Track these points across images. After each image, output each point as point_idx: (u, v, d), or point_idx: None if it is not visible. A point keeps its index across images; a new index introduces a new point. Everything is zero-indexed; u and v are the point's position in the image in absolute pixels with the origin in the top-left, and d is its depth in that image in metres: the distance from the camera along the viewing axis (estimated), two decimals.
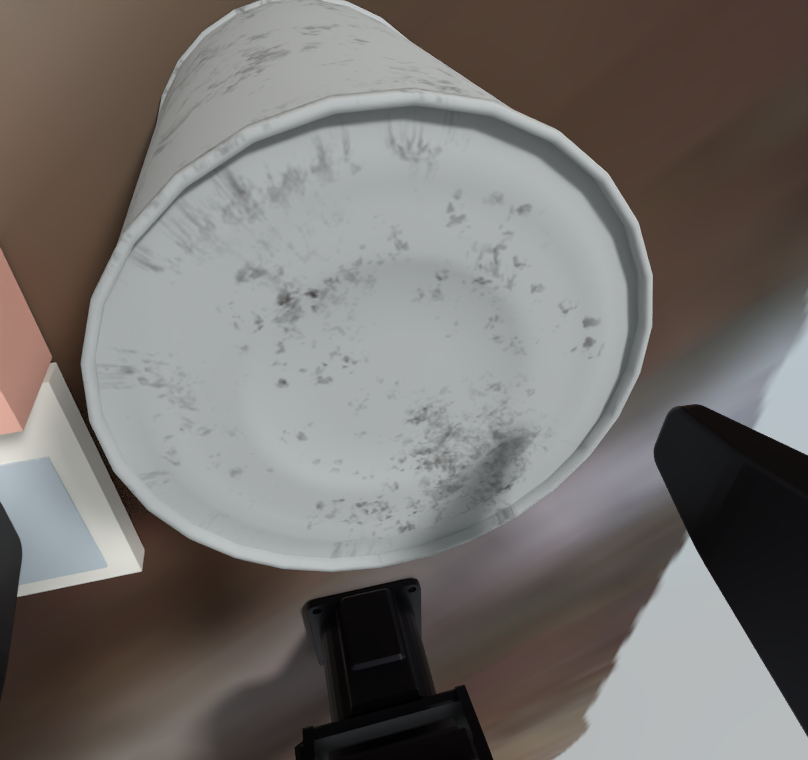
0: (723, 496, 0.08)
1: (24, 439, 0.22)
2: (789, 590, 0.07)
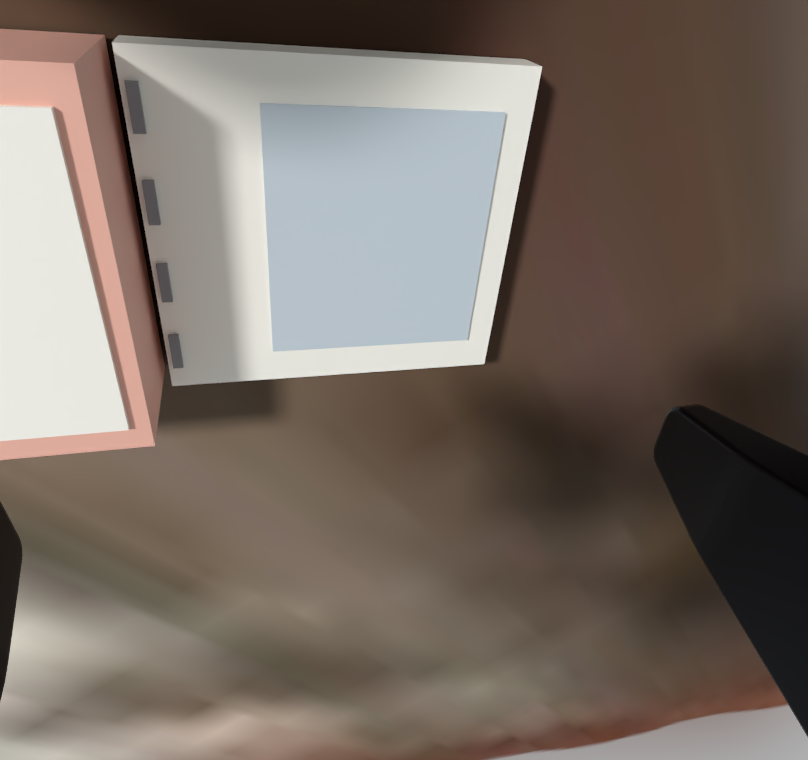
0: (723, 496, 0.08)
1: (221, 120, 0.16)
2: (789, 590, 0.07)
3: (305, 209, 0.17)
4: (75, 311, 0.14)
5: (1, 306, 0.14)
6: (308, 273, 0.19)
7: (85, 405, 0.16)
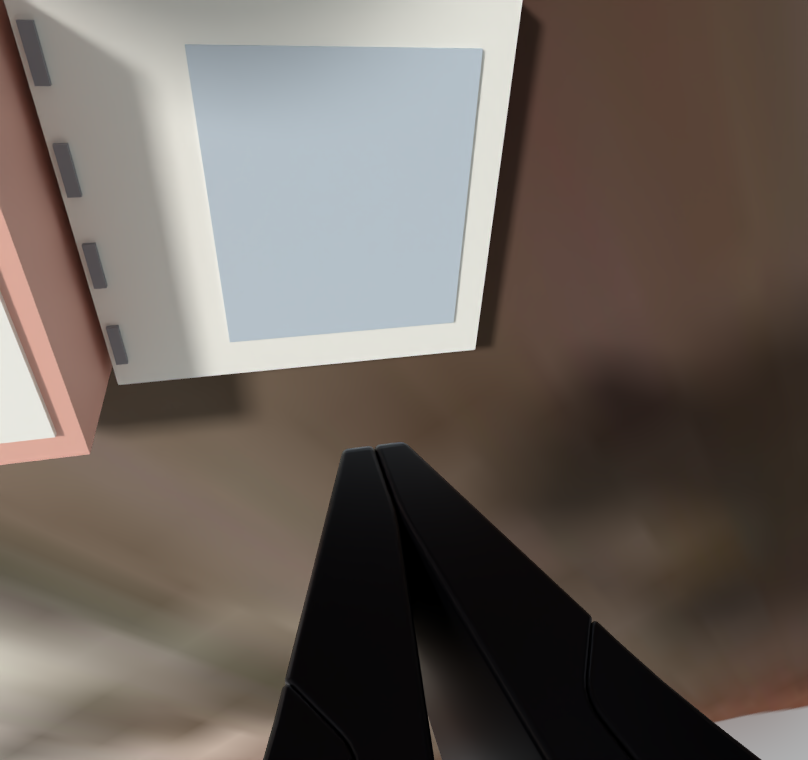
0: None
1: (140, 67, 0.13)
2: (435, 664, 0.06)
3: (252, 173, 0.15)
4: None
5: None
6: (262, 249, 0.16)
7: None
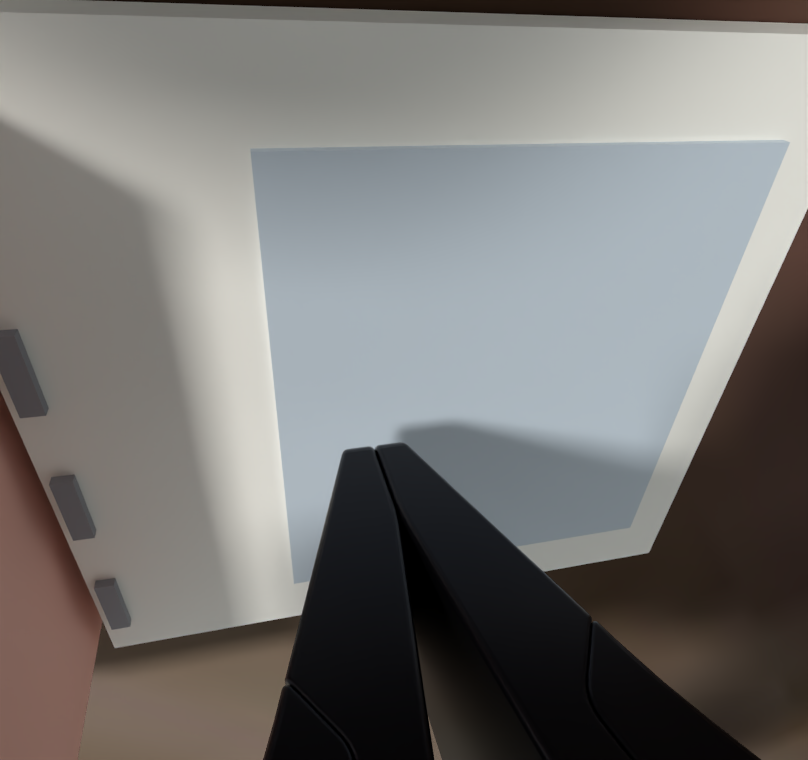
0: None
1: (160, 193, 0.07)
2: (436, 665, 0.06)
3: (355, 359, 0.08)
4: None
5: None
6: None
7: None
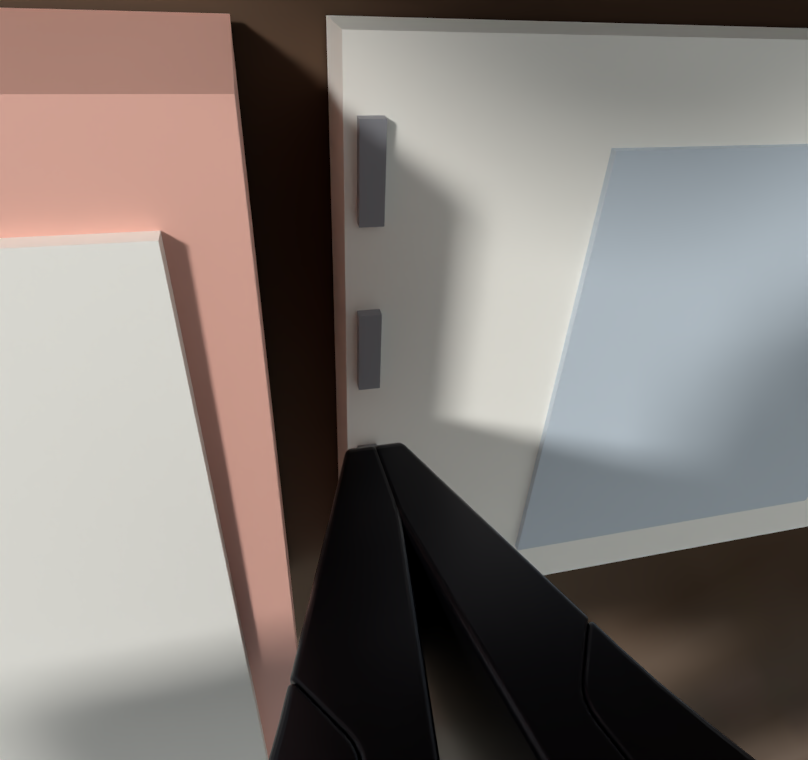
0: None
1: (530, 188, 0.07)
2: (432, 665, 0.06)
3: (636, 337, 0.09)
4: (189, 654, 0.06)
5: (21, 673, 0.06)
6: (608, 435, 0.10)
7: None
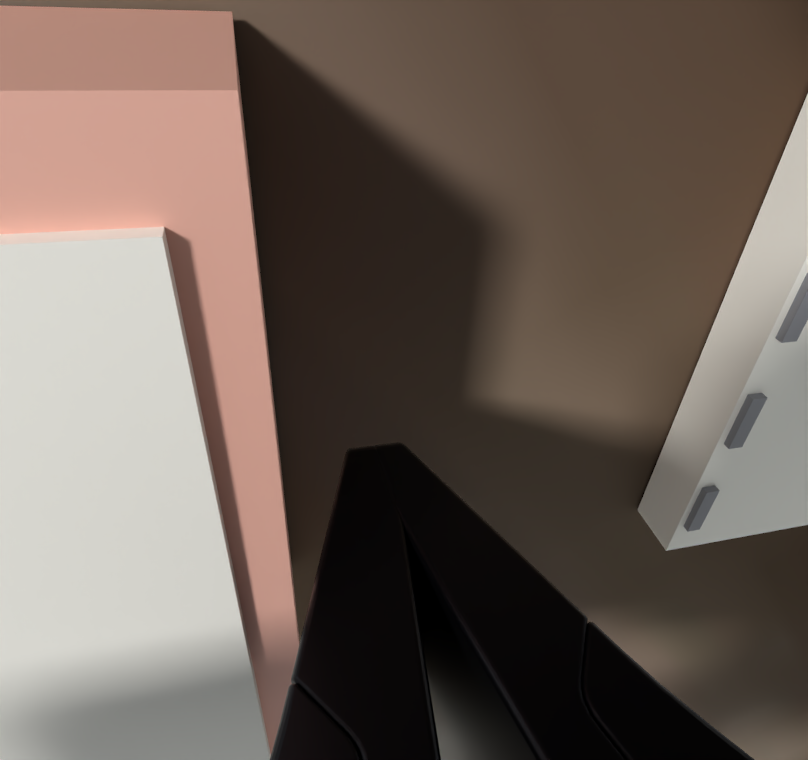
0: None
1: None
2: (432, 665, 0.06)
3: None
4: (192, 650, 0.06)
5: (26, 668, 0.06)
6: None
7: None
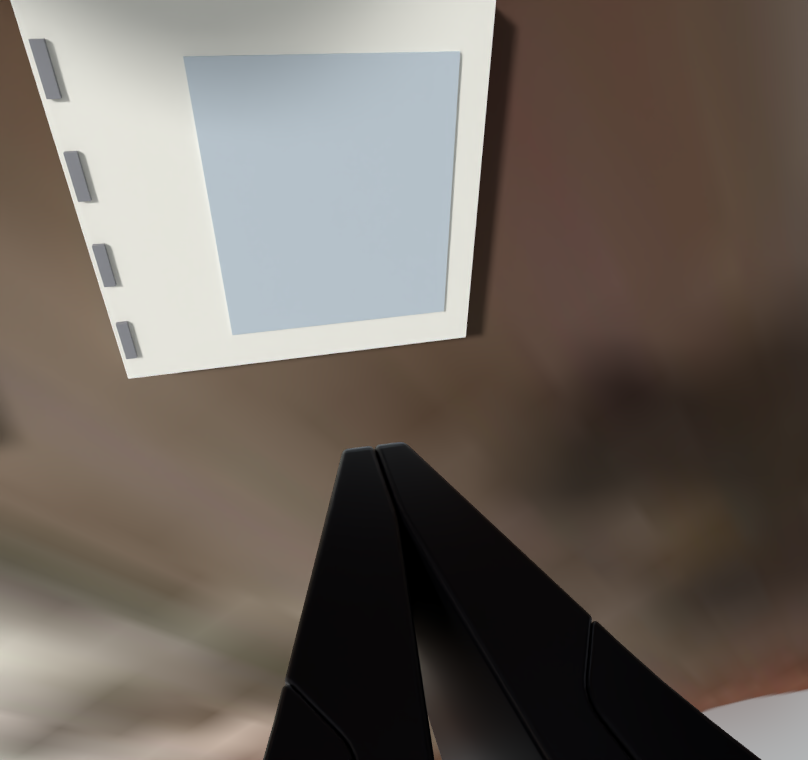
0: None
1: (143, 79, 0.14)
2: (435, 664, 0.06)
3: (248, 174, 0.16)
4: None
5: None
6: (261, 245, 0.17)
7: None
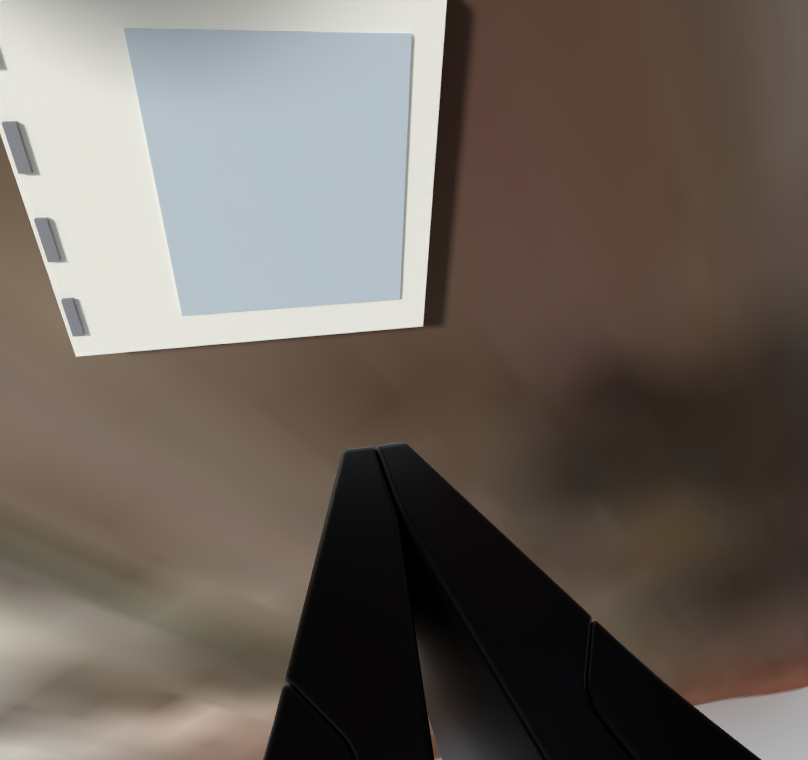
0: None
1: (83, 49, 0.14)
2: (435, 665, 0.06)
3: (195, 152, 0.16)
4: None
5: None
6: (209, 225, 0.17)
7: None
